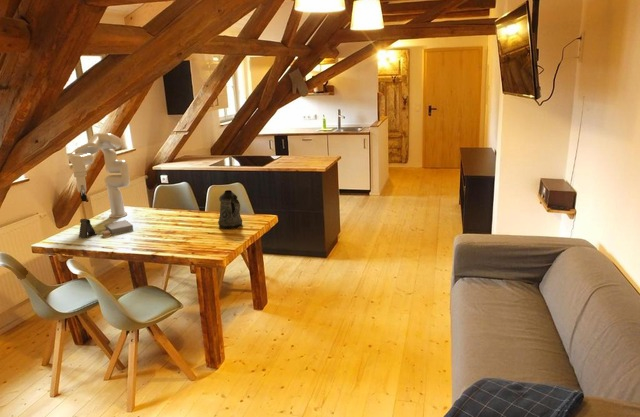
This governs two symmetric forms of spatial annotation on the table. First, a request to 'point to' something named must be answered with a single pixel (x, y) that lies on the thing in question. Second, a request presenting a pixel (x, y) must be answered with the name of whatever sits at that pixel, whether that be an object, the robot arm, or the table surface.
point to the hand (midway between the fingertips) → (84, 199)
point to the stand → (119, 227)
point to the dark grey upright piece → (229, 211)
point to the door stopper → (86, 229)
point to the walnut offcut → (106, 233)
